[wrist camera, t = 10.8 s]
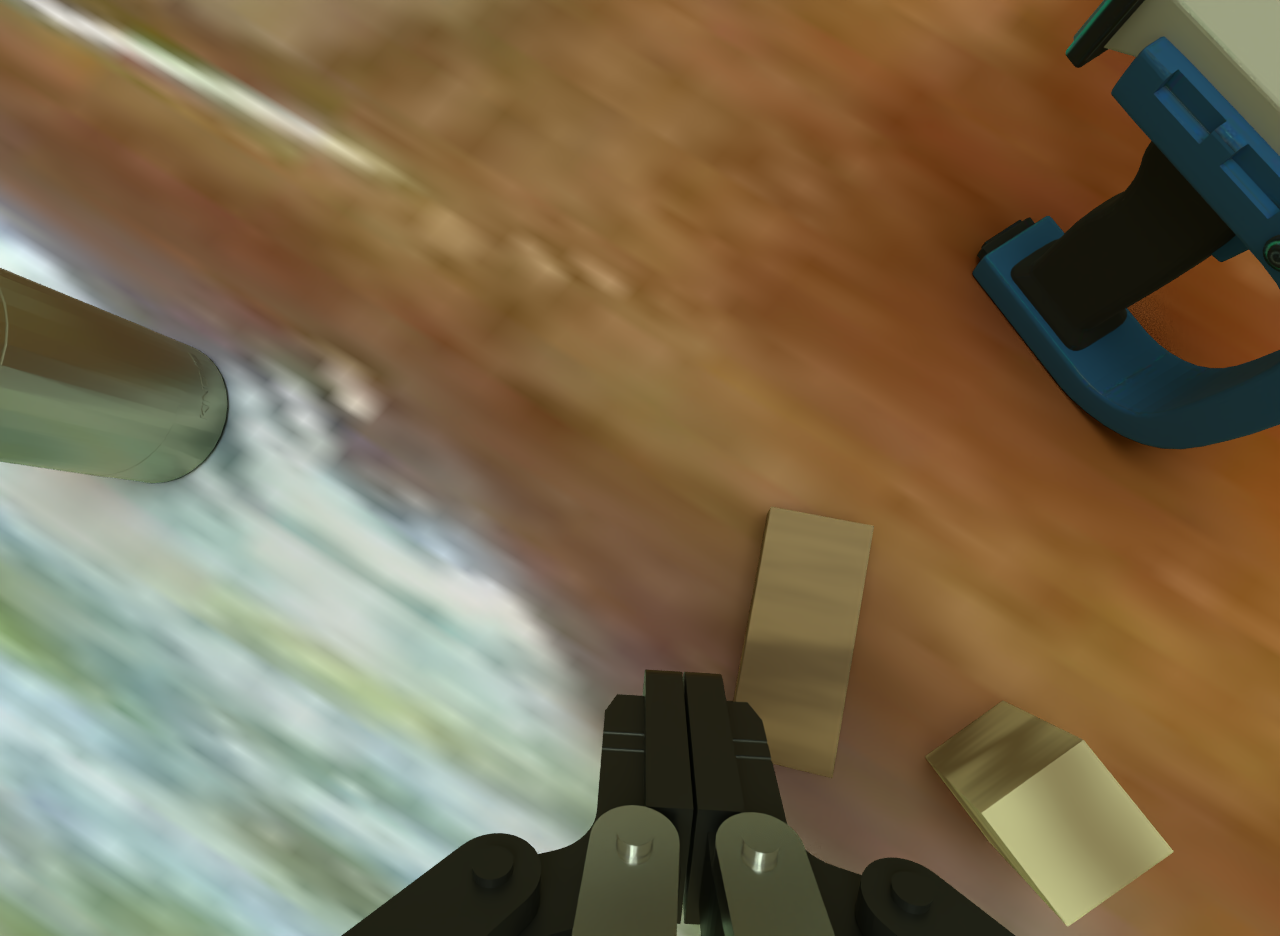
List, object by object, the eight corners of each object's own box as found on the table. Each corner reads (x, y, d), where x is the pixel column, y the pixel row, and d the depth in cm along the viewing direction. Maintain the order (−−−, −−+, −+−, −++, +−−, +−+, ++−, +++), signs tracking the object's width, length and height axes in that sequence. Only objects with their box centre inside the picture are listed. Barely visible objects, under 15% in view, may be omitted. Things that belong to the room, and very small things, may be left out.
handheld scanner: (1010, 193, 41) (1236, -127, 22) (1199, 425, 38) (1652, 287, 19) (941, 239, 42) (1105, -40, 22) (1124, 472, 39) (1495, 382, 19)
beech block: (989, 841, 37) (1067, 926, 28) (924, 756, 38) (981, 813, 29) (1069, 784, 37) (1173, 852, 28) (1002, 700, 38) (1083, 739, 29)
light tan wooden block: (832, 778, 34) (874, 526, 35) (726, 752, 35) (771, 506, 36) (820, 752, 39) (857, 531, 40) (727, 729, 40) (767, 514, 41)
